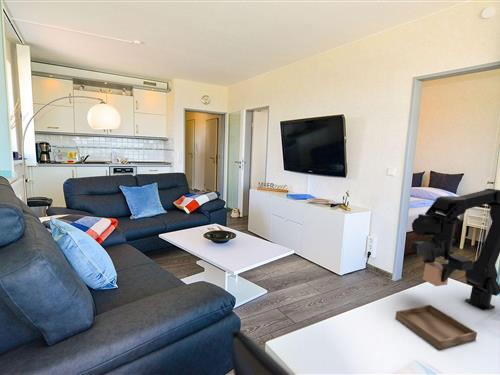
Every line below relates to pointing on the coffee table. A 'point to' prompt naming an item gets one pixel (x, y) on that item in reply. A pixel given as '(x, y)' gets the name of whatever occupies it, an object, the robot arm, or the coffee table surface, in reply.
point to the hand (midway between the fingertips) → (435, 278)
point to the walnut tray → (435, 327)
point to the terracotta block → (434, 274)
